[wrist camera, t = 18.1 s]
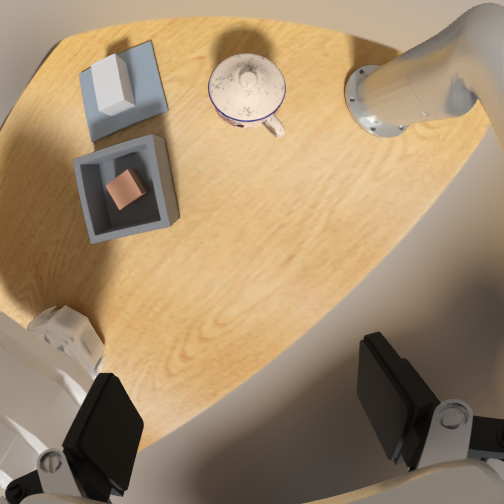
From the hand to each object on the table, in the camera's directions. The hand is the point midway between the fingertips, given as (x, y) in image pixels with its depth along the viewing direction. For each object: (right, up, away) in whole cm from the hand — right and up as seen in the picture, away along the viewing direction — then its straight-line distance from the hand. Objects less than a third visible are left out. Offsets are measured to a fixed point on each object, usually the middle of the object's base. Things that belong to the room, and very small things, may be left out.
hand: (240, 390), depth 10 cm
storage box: (-17, +15, +30) cm, 38 cm away
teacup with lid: (0, +26, +28) cm, 38 cm away
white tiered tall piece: (-35, -12, +37) cm, 52 cm away
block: (-17, +15, +29) cm, 37 cm away
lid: (-20, +30, +26) cm, 44 cm away
